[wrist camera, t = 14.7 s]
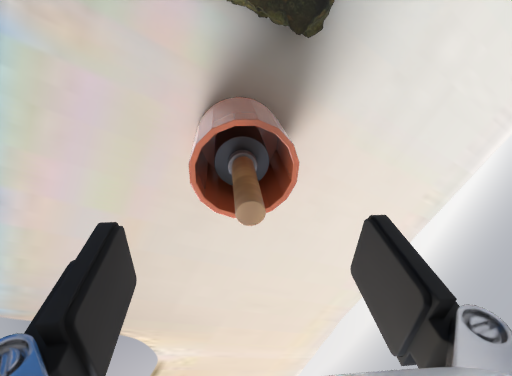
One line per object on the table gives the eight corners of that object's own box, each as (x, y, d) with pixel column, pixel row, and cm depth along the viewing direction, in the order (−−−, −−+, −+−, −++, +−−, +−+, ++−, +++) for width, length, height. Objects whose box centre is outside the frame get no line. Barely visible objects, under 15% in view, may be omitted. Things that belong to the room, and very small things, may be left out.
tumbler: (284, 97, 28) (305, 120, 21) (277, 176, 33) (292, 216, 26) (193, 95, 27) (184, 118, 20) (198, 177, 32) (193, 219, 25)
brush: (263, 120, 28) (292, 179, 17) (261, 164, 31) (284, 241, 20) (214, 119, 28) (210, 180, 17) (215, 165, 30) (213, 244, 19)
